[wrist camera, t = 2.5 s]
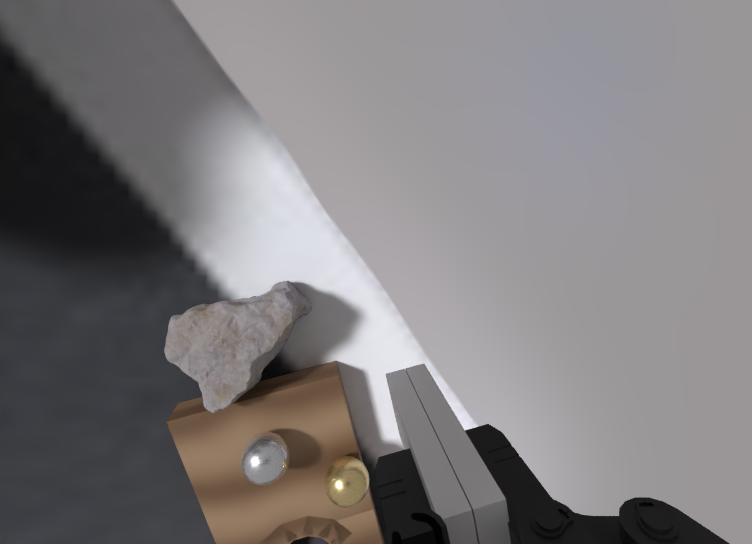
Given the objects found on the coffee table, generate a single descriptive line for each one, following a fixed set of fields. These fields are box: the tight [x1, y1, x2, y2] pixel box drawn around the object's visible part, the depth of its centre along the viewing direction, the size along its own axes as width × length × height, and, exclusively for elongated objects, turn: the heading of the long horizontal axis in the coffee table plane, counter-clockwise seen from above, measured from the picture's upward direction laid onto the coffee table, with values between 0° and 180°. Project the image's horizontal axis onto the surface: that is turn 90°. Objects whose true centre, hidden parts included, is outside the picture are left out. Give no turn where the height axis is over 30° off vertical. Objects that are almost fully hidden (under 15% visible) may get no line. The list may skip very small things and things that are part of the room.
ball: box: [241, 432, 290, 485], centre depth 28 cm, size 4×4×4 cm
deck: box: [167, 361, 385, 544], centre depth 32 cm, size 22×13×2 cm, turn 12°
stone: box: [164, 281, 312, 413], centre depth 27 cm, size 10×8×6 cm
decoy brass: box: [324, 456, 369, 508], centre depth 29 cm, size 4×4×4 cm
